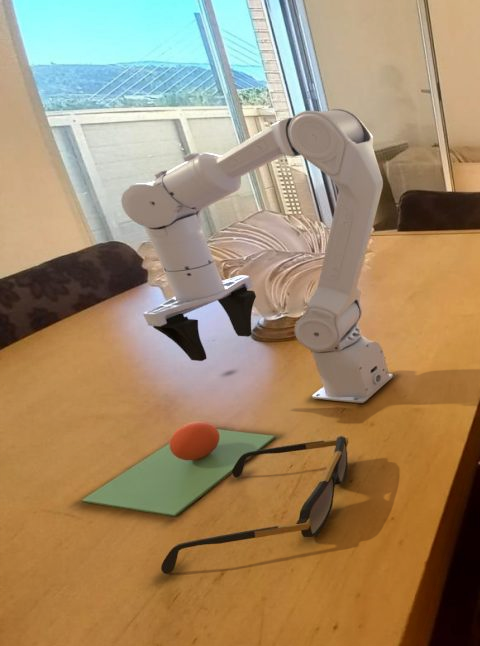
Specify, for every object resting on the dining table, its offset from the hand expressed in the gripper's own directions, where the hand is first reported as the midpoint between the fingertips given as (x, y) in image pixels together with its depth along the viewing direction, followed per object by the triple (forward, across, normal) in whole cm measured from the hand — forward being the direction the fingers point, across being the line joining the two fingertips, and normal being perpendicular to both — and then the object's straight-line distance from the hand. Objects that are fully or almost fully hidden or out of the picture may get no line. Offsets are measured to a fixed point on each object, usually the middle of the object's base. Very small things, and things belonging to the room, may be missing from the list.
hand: (223, 346), depth 74 cm
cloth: (+9, +15, +7) cm, 19 cm away
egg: (+7, +13, +7) cm, 16 cm away
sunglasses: (+10, +19, +25) cm, 33 cm away
